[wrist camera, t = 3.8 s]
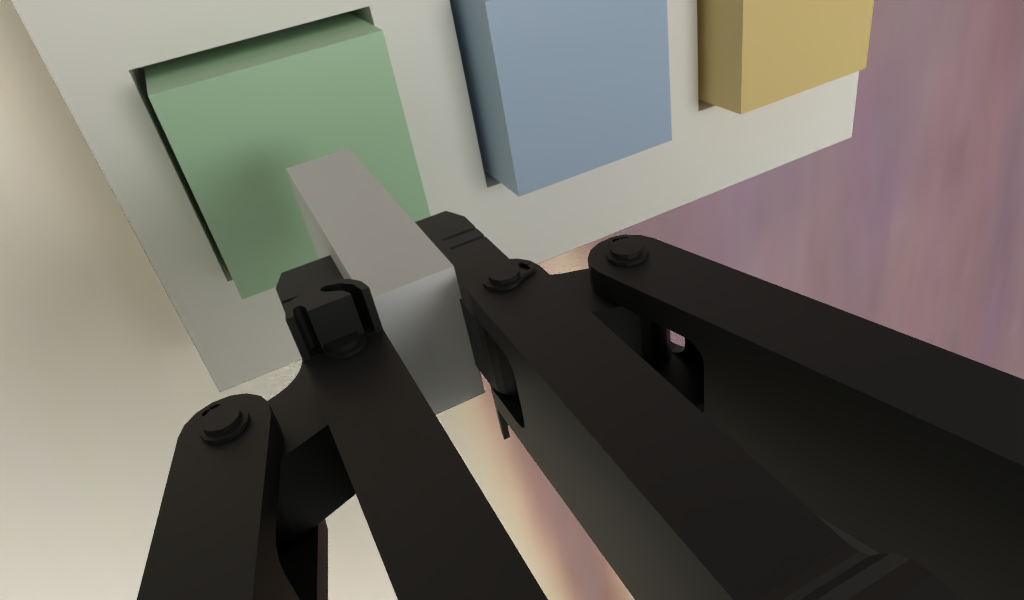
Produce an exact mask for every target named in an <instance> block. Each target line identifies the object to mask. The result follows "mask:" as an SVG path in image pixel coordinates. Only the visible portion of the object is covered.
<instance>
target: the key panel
mask: <svg viewBox="0 0 1024 600" xmlns="http://www.w3.org/2000/svg"><path fill="white" fill-rule="evenodd" d="M11 2H12V4H13V5H14V7H15V9H16V11H17V13H18V15H19V17H20V19H21V20H22V22H23V24H24V26H25V28H26V30H27V32H28V34H29V35H30V37H31V39H32V41H33V43H34V45H35V47H36V49H37V50H38V52H39V54H40V56H41V58H42V60H43V62H44V64H45V65H46V67H47V69H48V71H49V73H50V75H51V77H52V79H53V80H54V82H55V84H56V86H57V88H58V90H59V92H60V94H61V95H62V97H63V99H64V101H65V103H66V105H67V107H68V109H69V110H70V112H71V114H72V116H73V118H74V120H75V122H76V124H77V125H78V127H79V129H80V131H81V133H82V135H83V137H84V139H85V141H86V142H87V144H88V146H89V148H90V150H91V152H92V154H93V156H94V157H95V159H96V161H97V163H98V165H99V167H100V169H101V171H102V172H103V174H104V176H105V178H106V180H107V182H108V184H109V186H110V187H111V189H112V191H113V193H114V195H115V197H116V199H117V201H118V202H119V204H120V206H121V208H122V210H123V212H124V214H125V216H126V217H127V219H128V221H129V223H130V225H131V227H132V229H133V231H134V232H135V234H136V236H137V238H138V240H139V242H140V244H141V246H142V247H143V249H144V251H145V253H146V255H147V257H148V259H149V261H150V262H151V264H152V266H153V268H154V270H155V272H156V274H157V276H158V277H159V279H160V281H161V283H162V285H163V287H164V289H165V291H166V292H167V294H168V296H169V298H170V300H171V302H172V304H173V306H174V307H175V309H176V311H177V313H178V315H179V317H180V319H181V321H182V322H183V324H184V326H185V328H186V330H187V332H188V334H189V336H190V337H191V339H192V341H193V343H194V345H195V347H196V349H197V351H198V352H199V354H200V356H201V358H202V360H203V362H204V364H205V366H206V367H207V369H208V371H209V373H210V375H211V377H212V379H213V381H214V382H215V384H216V386H217V388H218V390H219V392H221V391H224V390H226V389H229V388H231V387H234V386H236V385H239V384H241V383H243V382H246V381H248V380H251V379H253V378H256V377H258V376H261V375H263V374H266V373H268V372H271V371H273V370H276V369H278V368H281V367H283V366H286V365H288V364H290V363H293V362H295V361H298V360H300V359H302V357H301V355H300V353H299V350H298V348H297V346H296V343H295V341H294V339H293V336H292V334H291V332H290V329H289V327H288V325H287V322H286V320H285V311H284V309H283V306H282V304H281V301H280V299H279V296H278V294H277V291H276V287H274V288H272V289H269V290H266V291H264V292H261V293H258V294H256V295H253V296H250V297H247V298H245V299H242V298H241V296H240V294H239V292H238V290H237V287H236V285H235V283H234V281H233V279H232V277H231V274H230V272H229V270H228V268H227V266H226V264H225V261H224V259H223V257H222V255H221V253H220V251H219V248H218V246H217V244H216V242H215V240H214V238H213V236H212V233H211V231H210V229H209V227H208V225H207V223H206V220H205V218H204V216H203V214H202V212H201V210H200V207H199V205H198V203H197V201H196V199H195V197H194V194H193V192H192V190H191V188H190V186H189V184H188V182H187V179H186V177H185V175H184V173H183V171H182V169H181V166H180V164H179V162H178V160H177V158H176V156H175V153H174V151H173V149H172V147H171V145H170V143H169V140H168V138H167V136H166V134H165V132H164V130H163V128H162V125H161V123H160V121H159V119H158V117H157V115H156V112H155V110H154V108H153V106H152V104H151V102H150V99H149V97H148V93H147V85H146V78H145V70H144V66H147V65H151V64H154V63H158V62H162V61H166V60H169V59H173V58H177V57H181V56H184V55H188V54H192V53H196V52H199V51H203V50H207V49H210V48H214V47H218V46H222V45H225V44H229V43H233V42H237V41H240V40H244V39H248V38H252V37H255V36H259V35H263V34H267V33H270V32H274V31H278V30H282V29H285V28H289V27H293V26H297V25H300V24H304V23H308V22H312V21H315V20H319V19H323V18H326V17H330V16H334V15H338V14H341V13H345V12H349V13H351V14H353V15H355V16H356V17H358V18H360V19H362V20H364V21H366V22H368V23H370V24H372V25H374V26H375V27H377V28H379V29H381V30H383V33H384V37H385V41H386V45H387V49H388V53H389V57H390V61H391V64H392V68H393V72H394V76H395V80H396V84H397V88H398V92H399V95H400V99H401V103H402V107H403V111H404V115H405V119H406V123H407V126H408V130H409V134H410V138H411V142H412V146H413V150H414V154H415V158H416V161H417V165H418V169H419V173H420V177H421V181H422V185H423V189H424V192H425V196H426V200H427V204H428V208H429V212H430V216H433V215H436V214H438V213H441V212H444V211H449V212H452V213H455V214H458V215H462V216H465V217H466V218H467V219H468V220H469V221H470V222H471V223H472V224H473V225H474V226H475V228H476V229H478V230H479V231H480V232H482V233H483V234H484V237H487V238H488V239H489V240H490V241H491V242H492V243H493V244H494V245H495V246H496V247H497V248H498V249H500V250H501V251H502V252H503V253H504V254H505V255H506V256H507V257H508V258H509V259H516V258H518V259H524V260H530V261H532V262H534V263H536V264H538V263H541V262H543V261H545V260H548V259H550V258H553V257H555V256H558V255H560V254H563V253H565V252H568V251H570V250H573V249H575V248H578V247H580V246H583V245H585V244H588V243H590V242H593V241H595V240H597V239H600V238H602V237H605V236H607V235H610V234H612V233H615V232H617V231H620V230H622V229H625V228H627V227H630V226H632V225H635V224H637V223H640V222H642V221H644V220H647V219H649V218H652V217H654V216H657V215H659V214H662V213H664V212H667V211H669V210H672V209H674V208H677V207H679V206H682V205H684V204H687V203H689V202H692V201H694V200H696V199H699V198H701V197H704V196H706V195H709V194H711V193H714V192H716V191H719V190H721V189H724V188H726V187H729V186H731V185H734V184H736V183H739V182H741V181H744V180H746V179H748V178H751V177H753V176H756V175H758V174H761V173H763V172H766V171H768V170H771V169H773V168H776V167H778V166H781V165H783V164H786V163H788V162H791V161H793V160H795V159H798V158H800V157H803V156H805V155H808V154H810V153H813V152H815V151H818V150H820V149H823V148H825V147H828V146H830V145H833V144H835V143H838V142H840V141H843V140H845V139H847V138H850V137H852V128H853V120H854V111H855V102H856V93H857V85H858V76H859V71H857V72H854V73H852V74H849V75H846V76H844V77H841V78H838V79H836V80H833V81H830V82H827V83H825V84H822V85H819V86H817V87H814V88H811V89H809V90H806V91H803V92H801V93H798V94H795V95H792V96H790V97H787V98H784V99H782V100H779V101H776V102H774V103H771V104H768V105H765V106H763V107H760V108H757V109H755V110H752V111H749V112H747V113H744V114H738V113H735V112H732V111H729V110H727V109H724V108H721V107H718V106H715V105H713V104H710V103H707V102H704V101H701V100H699V99H698V40H697V0H667V18H668V46H669V73H670V100H671V127H672V140H671V141H668V142H666V143H663V144H660V145H658V146H655V147H652V148H649V149H647V150H644V151H641V152H639V153H636V154H633V155H631V156H628V157H625V158H622V159H620V160H617V161H614V162H612V163H609V164H606V165H604V166H601V167H598V168H595V169H593V170H590V171H587V172H585V173H582V174H579V175H577V176H574V177H571V178H568V179H566V180H563V181H560V182H558V183H555V184H552V185H550V186H547V187H544V188H542V189H539V190H536V191H533V192H531V193H528V194H525V195H523V196H520V197H519V196H517V195H516V194H515V193H513V192H512V191H511V190H509V189H508V188H507V187H505V186H504V185H503V184H502V183H500V182H499V181H498V180H496V179H495V178H494V177H492V176H491V175H490V174H488V173H487V172H486V171H485V170H484V169H483V164H482V159H481V154H480V149H479V144H478V139H477V134H476V130H475V125H474V120H473V115H472V110H471V105H470V100H469V95H468V90H467V85H466V80H465V75H464V70H463V65H462V60H461V55H460V50H459V45H458V40H457V35H456V30H455V25H454V20H453V15H452V10H451V5H450V0H11Z"/></svg>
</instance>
